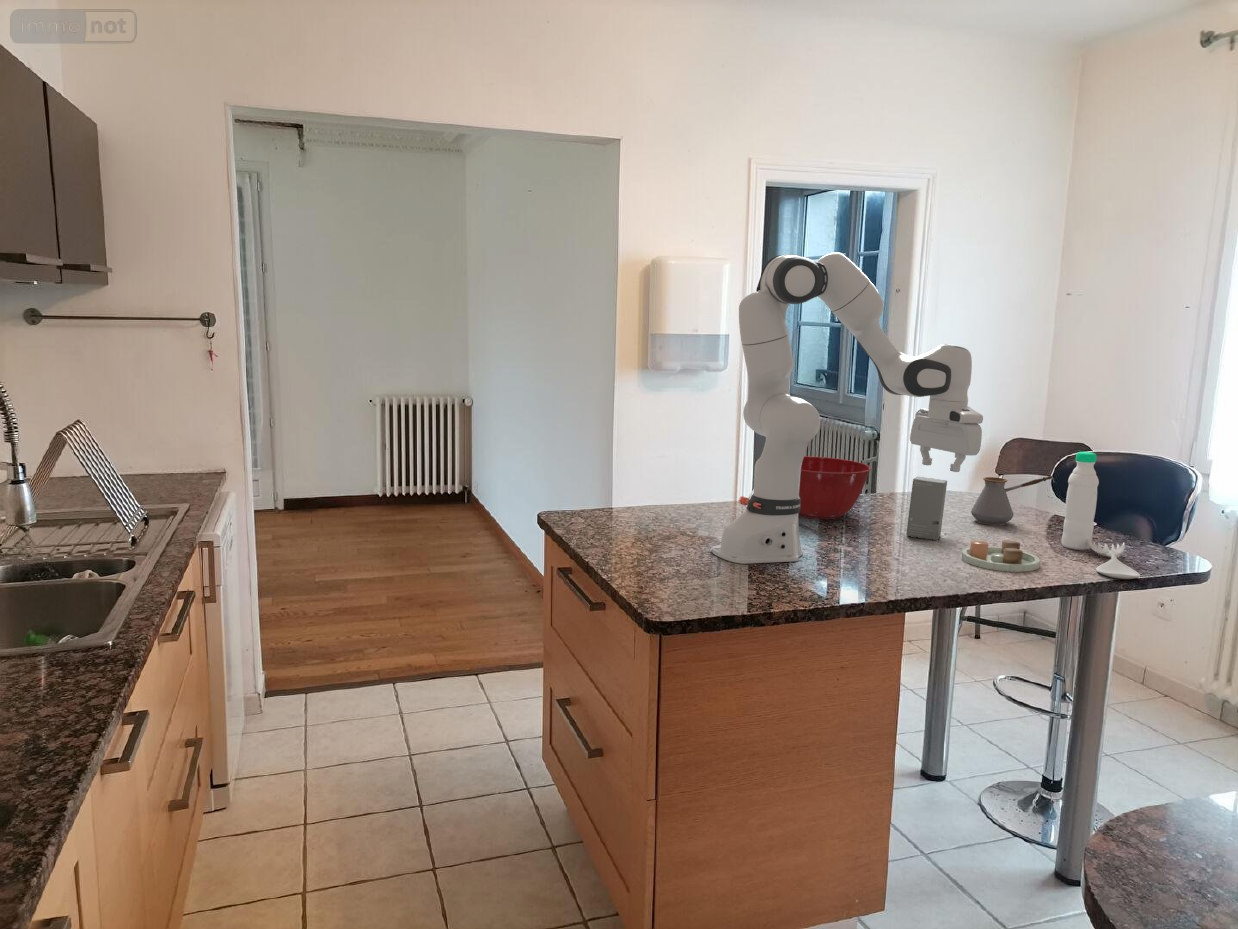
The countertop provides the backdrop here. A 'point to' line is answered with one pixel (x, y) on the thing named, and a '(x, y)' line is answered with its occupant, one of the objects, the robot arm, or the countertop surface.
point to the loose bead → (979, 550)
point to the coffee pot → (997, 501)
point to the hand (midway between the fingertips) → (940, 468)
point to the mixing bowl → (830, 486)
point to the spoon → (1113, 562)
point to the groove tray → (1001, 561)
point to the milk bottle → (1080, 503)
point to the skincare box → (926, 508)
